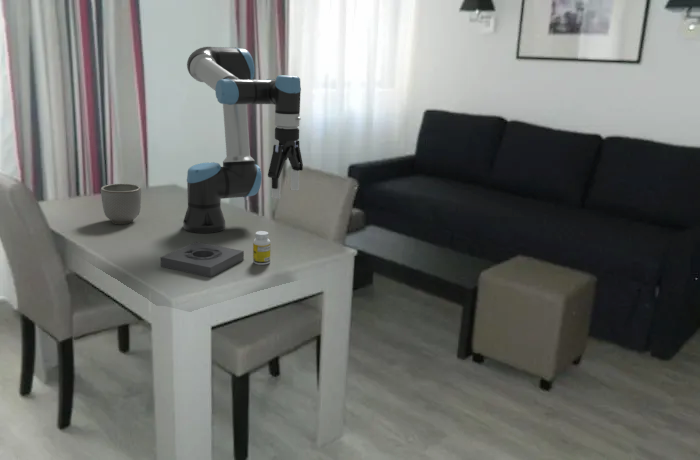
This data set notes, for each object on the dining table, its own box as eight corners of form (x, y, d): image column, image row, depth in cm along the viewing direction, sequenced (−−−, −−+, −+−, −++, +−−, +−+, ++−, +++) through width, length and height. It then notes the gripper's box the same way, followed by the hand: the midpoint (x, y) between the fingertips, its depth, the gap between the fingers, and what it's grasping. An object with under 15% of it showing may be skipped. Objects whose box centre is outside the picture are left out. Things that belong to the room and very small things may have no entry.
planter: (94, 223, 234) (92, 188, 230) (120, 214, 246) (119, 181, 242) (124, 229, 229) (123, 193, 225) (150, 220, 241) (149, 186, 238)
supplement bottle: (253, 259, 205) (253, 230, 203) (270, 259, 206) (271, 230, 203) (252, 265, 200) (252, 235, 197) (270, 265, 201) (270, 235, 198)
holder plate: (160, 266, 195) (160, 257, 194) (196, 250, 211) (196, 241, 210) (210, 277, 188) (210, 267, 187) (243, 259, 204) (243, 250, 204)
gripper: (280, 132, 185) (278, 203, 191) (314, 124, 208) (312, 188, 214) (256, 130, 188) (256, 200, 194) (293, 122, 210) (291, 185, 216)
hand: (285, 194), depth 204 cm, fingers open, 13 cm apart
